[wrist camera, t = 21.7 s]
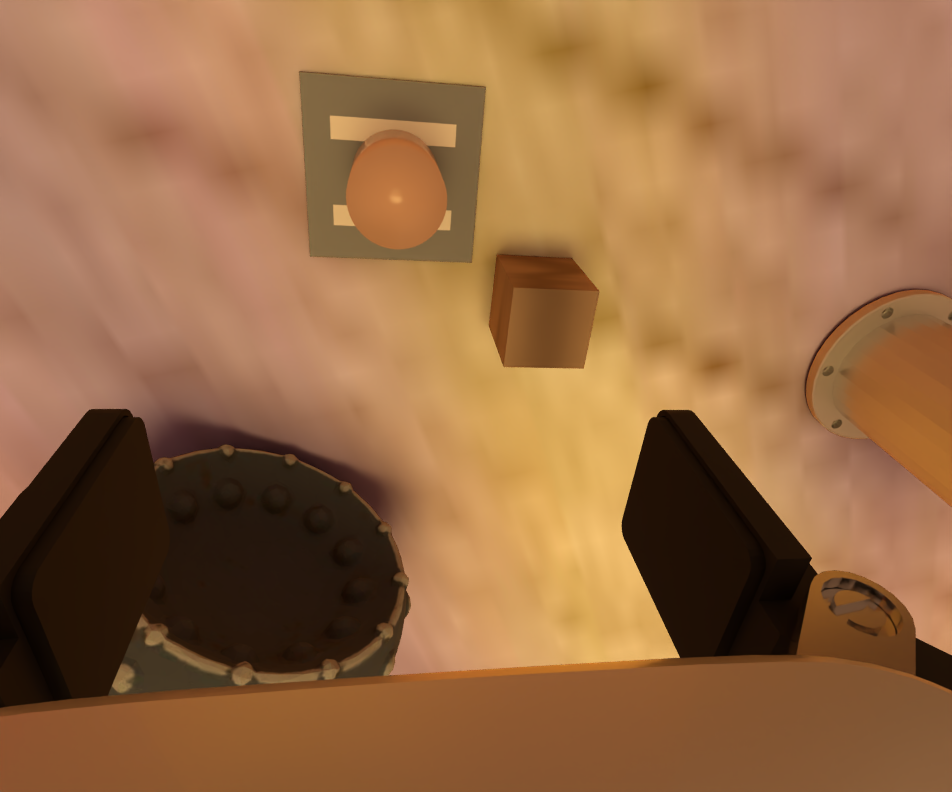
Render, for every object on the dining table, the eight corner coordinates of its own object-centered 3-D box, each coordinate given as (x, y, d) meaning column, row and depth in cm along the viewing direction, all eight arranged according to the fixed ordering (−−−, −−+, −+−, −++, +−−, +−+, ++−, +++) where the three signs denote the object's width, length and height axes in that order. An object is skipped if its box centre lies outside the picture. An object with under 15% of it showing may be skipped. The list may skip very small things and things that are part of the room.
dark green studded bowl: (149, 394, 41) (-19, 654, 24) (419, 483, 48) (438, 734, 31) (113, 508, 45) (-51, 797, 28) (365, 574, 52) (355, 839, 35)
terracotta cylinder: (440, 132, 34) (450, 150, 29) (436, 221, 37) (444, 251, 32) (350, 126, 34) (344, 142, 29) (352, 216, 36) (347, 247, 31)
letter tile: (484, 87, 34) (485, 87, 33) (471, 261, 39) (471, 262, 39) (299, 71, 32) (299, 72, 32) (310, 255, 37) (310, 256, 37)
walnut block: (571, 257, 40) (599, 291, 35) (559, 327, 42) (583, 368, 37) (496, 254, 39) (513, 287, 34) (488, 325, 41) (503, 366, 36)
